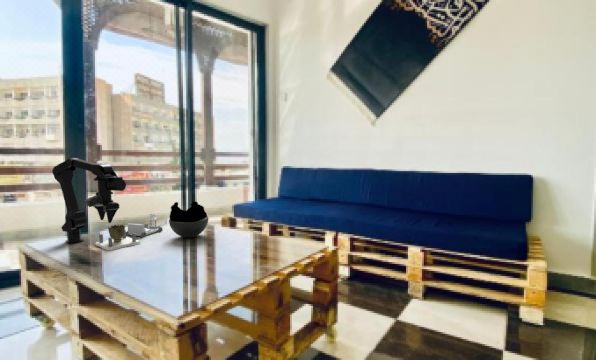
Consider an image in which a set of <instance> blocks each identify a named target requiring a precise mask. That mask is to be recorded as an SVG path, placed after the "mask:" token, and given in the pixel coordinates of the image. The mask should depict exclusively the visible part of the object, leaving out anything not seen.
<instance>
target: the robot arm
mask: <svg viewBox="0 0 596 360" xmlns="http://www.w3.org/2000/svg"><path fill="white" fill-rule="evenodd" d="M77 169H81V170H85V171H88V172H91V174H92V175H94V176H96V177H94V179H93V181H96V182H97V191H96V192H95V195H93V196H91V197H89V198H86V199H84V200H83V201H84V203H85V204H86V207H88V208H92V207H93V208H94V209H95V210H96V211H97V214H98V215H99V219H100V221H103V220H104V219H105V217H106V218H107V221H108V222H107V223H108V224H111V223H112V221H113V220H114V217H115V215H116V213H117V212H118V210H119V209H120V204H119V203H118V202H115V201H114V200H113V199H112V195H113V194H114V192H116V191H117V192H123V191H125V190H126V188H127V183H126V181H125V179H123V176H118V175H117V173H116V171H115V170H114V168H113V166H112V165H111V164H109V163H94V162H91V161H87V160H84V159H80V158H78V157H69V158H67V159H66V160H65V161H63V162H60V163H59V164H57V165H55V166H54V167H53V169H52V171H51V173H52V175H53V177H54V179H55V181H56V182H57V183H59V185H60V189H61V191H62V197H63V201H64V203H65V208H66V211H67V212H66V214H65V218H64V219H65V222H64V223H63V225H62V226H61V230H62V232H64V233H65V232H66V234H67V235H66V236H67V239H66V240H65V243H67V244H70V245H71V244H74V243H80V242H84V239H82V237H81V234H82V233H81V229H85V226H86V223H87V215H86V211H85V210H81V209H80V208H79V204H78V201H77V200H78V199H77V198H76V194H75V190H74V189H75V188H74V186H73V179H74V176H75V175H74V172H75V171H77ZM113 191H114V192H113Z"/></svg>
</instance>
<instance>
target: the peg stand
mask: <svg viewBox="0 0 596 360" xmlns="http://www.w3.org/2000/svg"><path fill="white" fill-rule="evenodd" d="M126 232H127V229H125V233H124V236H123V238H121V239H122V240H121V242H117V243H115V242H114V241H113V240H114V239H112V238H111V237H108V238H107V240H104V233H101V234H98V237H99V241H96V242H95V246H96V247H99V248H101V249H104V250H106V251H113V250H117V249H122V248H125V247H126V248H128V247H130V246H135V245H140V244H141V240H138V239H137V237H136V233H132V235H131V237H130V236H126Z"/></svg>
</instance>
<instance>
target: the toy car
mask: <svg viewBox="0 0 596 360" xmlns="http://www.w3.org/2000/svg"><path fill="white" fill-rule="evenodd" d="M149 220H150V221H154V222H155V223H154V224H150V225H149V224H148V223H146V224H141V223H140V224H139V223H127V230H126V236H127V237H130V236H132V233H136V236H137V237H141V238H142V237H143V238H146V237H147V235H150V234H153V233H156V232H158V233H161V231H162V232H163V227H162V226H160V225H157V221H156V220H158V217H157V216H156V215H155V214H152V213H151V214H149Z"/></svg>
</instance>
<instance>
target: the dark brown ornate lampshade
mask: <svg viewBox="0 0 596 360" xmlns="http://www.w3.org/2000/svg"><path fill="white" fill-rule="evenodd" d="M107 229H108V235H109V238H112V239H114V240H113V241H114V242H115V243H117V242H121V240H122V239H121V238H123V236H124V233H125V230H126V225H125V224H114V225H110V226H107Z"/></svg>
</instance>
